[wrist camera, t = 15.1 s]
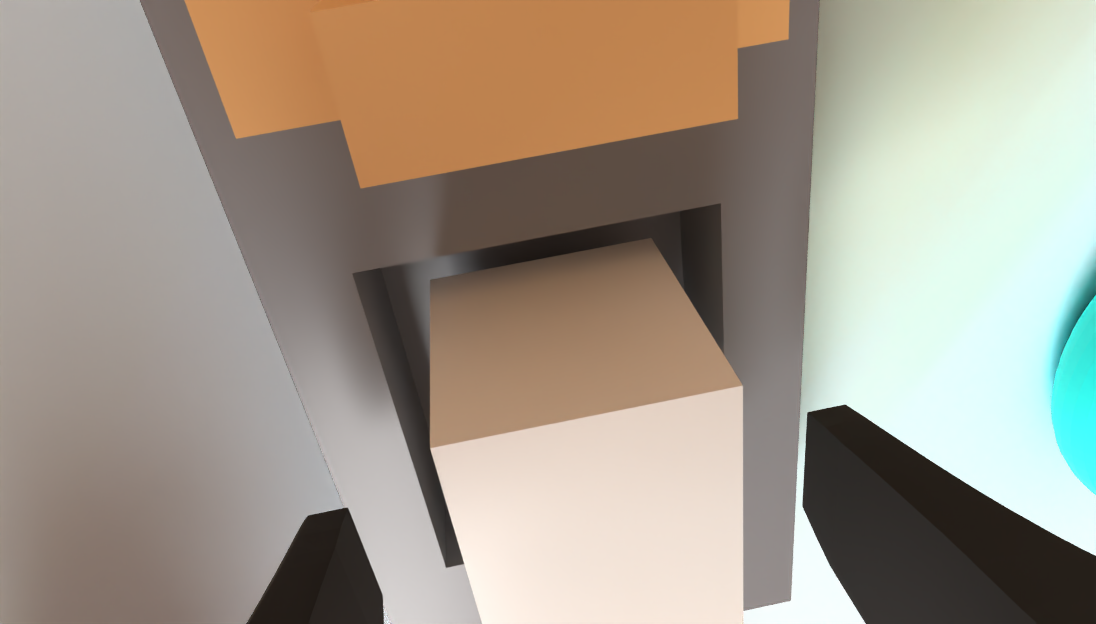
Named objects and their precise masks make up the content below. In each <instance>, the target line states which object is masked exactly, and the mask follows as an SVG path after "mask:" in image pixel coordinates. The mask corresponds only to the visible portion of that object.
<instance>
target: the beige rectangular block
mask: <svg viewBox="0 0 1096 624" xmlns="http://www.w3.org/2000/svg"><path fill="white" fill-rule="evenodd" d="M430 450H431V453H432V457H433V460H434V463H435V467H436V470H437V474H438V477H439V480H440V484H441V487H442V490H443V494H444V497H445V500H446V504H447V507H448V511H449V514H450V517H451V521H452V524H453V527H454V531H455V534H456V538H457V541H458V544H459V548H460V551H461V554H462V558H463V561H464V564H465V568H466V571H467V575H468V578H469V581H470V585H471V588H472V591H473V595H474V598H475V602H476V605H477V608H478V612H479V615H480V618H481V622H482V624H743V385H742V383H741V382H740V380H739V379H738V377H737V375H736V374H735V372H734V370H733V369H732V367H731V366H730V364H729V362H728V361H727V359H726V358H725V356H724V354H723V353H722V351H721V349H720V348H719V346H718V345H717V343H716V341H715V340H714V338H713V337H712V335H711V333H710V332H709V330H708V329H707V327H706V325H705V324H704V322H703V320H702V319H701V317H700V316H699V314H698V312H697V311H696V309H695V308H694V306H693V304H692V303H691V301H690V300H689V298H688V296H687V295H686V293H685V291H684V290H683V288H682V287H681V285H680V283H679V282H678V280H677V279H676V277H675V275H674V274H673V272H672V270H671V269H670V267H669V266H668V264H667V262H666V261H665V259H664V258H663V256H662V254H661V253H660V251H659V250H658V248H657V246H656V245H655V243H654V241H653V240H652V238H648V239H643V240H637V241H632V242H627V243H621V244H616V245H611V246H606V247H600V248H595V249H590V250H585V251H579V252H574V253H569V254H564V255H558V256H553V257H548V258H542V259H537V260H532V261H527V262H521V263H516V264H511V265H506V266H500V267H495V268H490V269H485V270H479V271H474V272H469V273H463V274H458V275H453V276H448V277H442V278H437V279H432V280H430Z"/></svg>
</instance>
